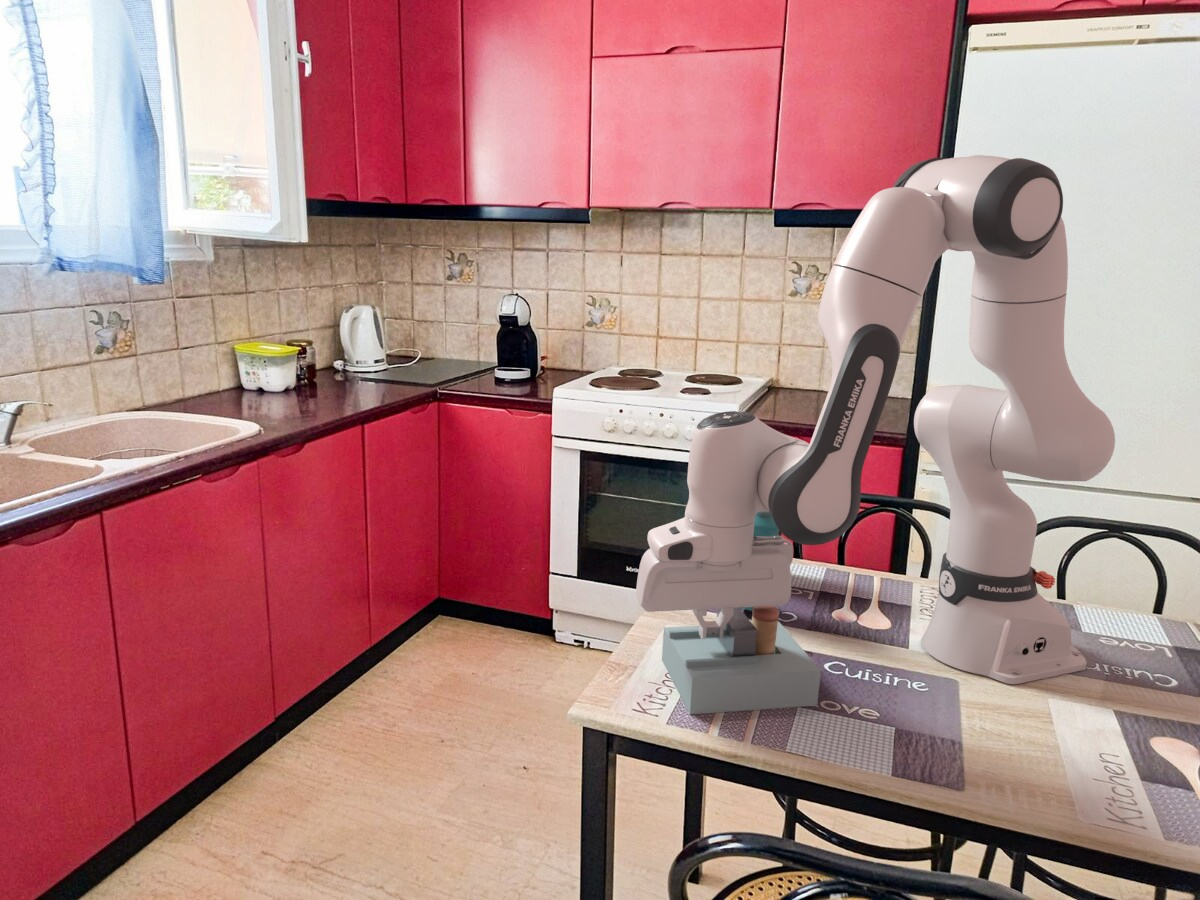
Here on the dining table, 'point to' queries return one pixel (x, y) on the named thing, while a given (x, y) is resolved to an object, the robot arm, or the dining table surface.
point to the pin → (765, 629)
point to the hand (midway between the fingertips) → (710, 636)
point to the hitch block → (738, 674)
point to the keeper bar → (739, 635)
